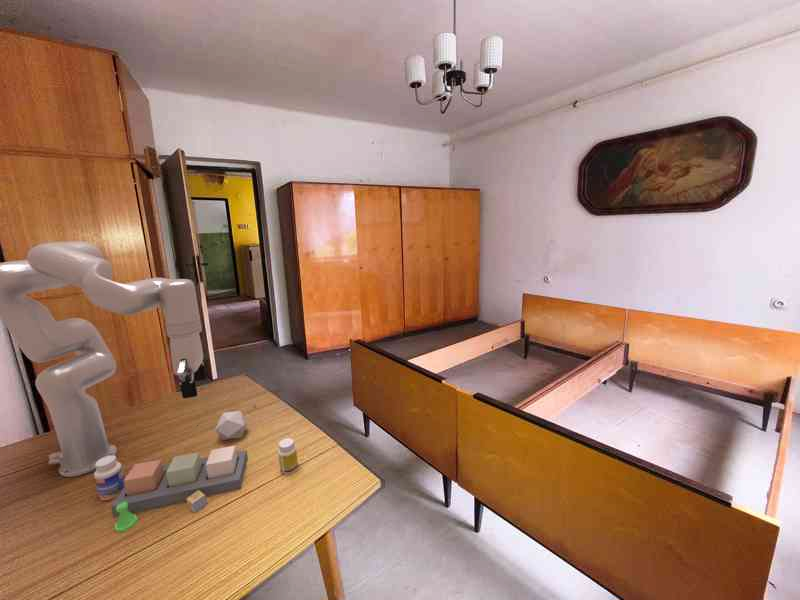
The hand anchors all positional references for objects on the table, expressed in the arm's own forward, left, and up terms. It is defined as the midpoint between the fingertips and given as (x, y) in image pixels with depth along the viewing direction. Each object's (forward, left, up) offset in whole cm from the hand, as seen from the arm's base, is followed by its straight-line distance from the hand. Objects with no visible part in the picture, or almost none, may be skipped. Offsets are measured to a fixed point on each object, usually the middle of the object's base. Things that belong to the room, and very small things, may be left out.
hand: (195, 388), depth 88 cm
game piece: (-14, -14, -25) cm, 32 cm away
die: (+4, +14, -25) cm, 29 cm away
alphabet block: (+1, -14, -26) cm, 29 cm away
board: (-4, -5, -25) cm, 26 cm away
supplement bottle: (+22, -7, -25) cm, 34 cm away
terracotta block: (-13, -5, -23) cm, 27 cm away
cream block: (+5, -5, -23) cm, 24 cm away
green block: (-4, -5, -23) cm, 24 cm away
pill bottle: (-22, -2, -25) cm, 34 cm away
